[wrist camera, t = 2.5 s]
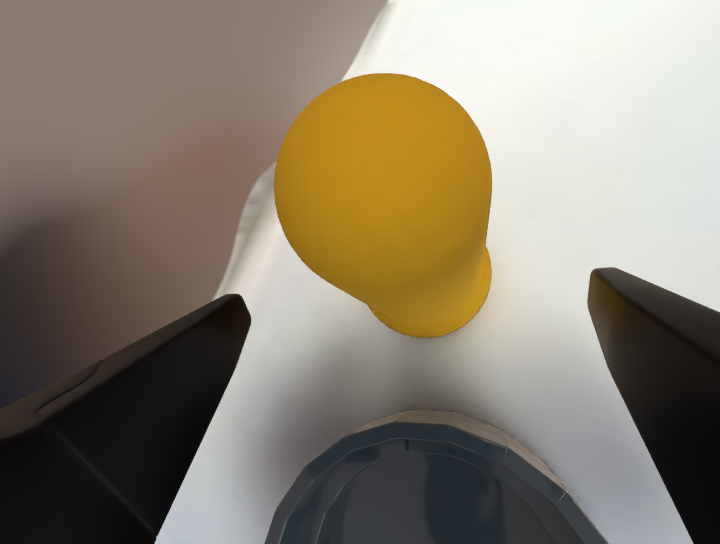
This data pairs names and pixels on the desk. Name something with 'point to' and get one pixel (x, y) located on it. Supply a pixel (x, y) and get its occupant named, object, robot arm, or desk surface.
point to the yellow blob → (390, 200)
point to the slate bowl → (429, 489)
